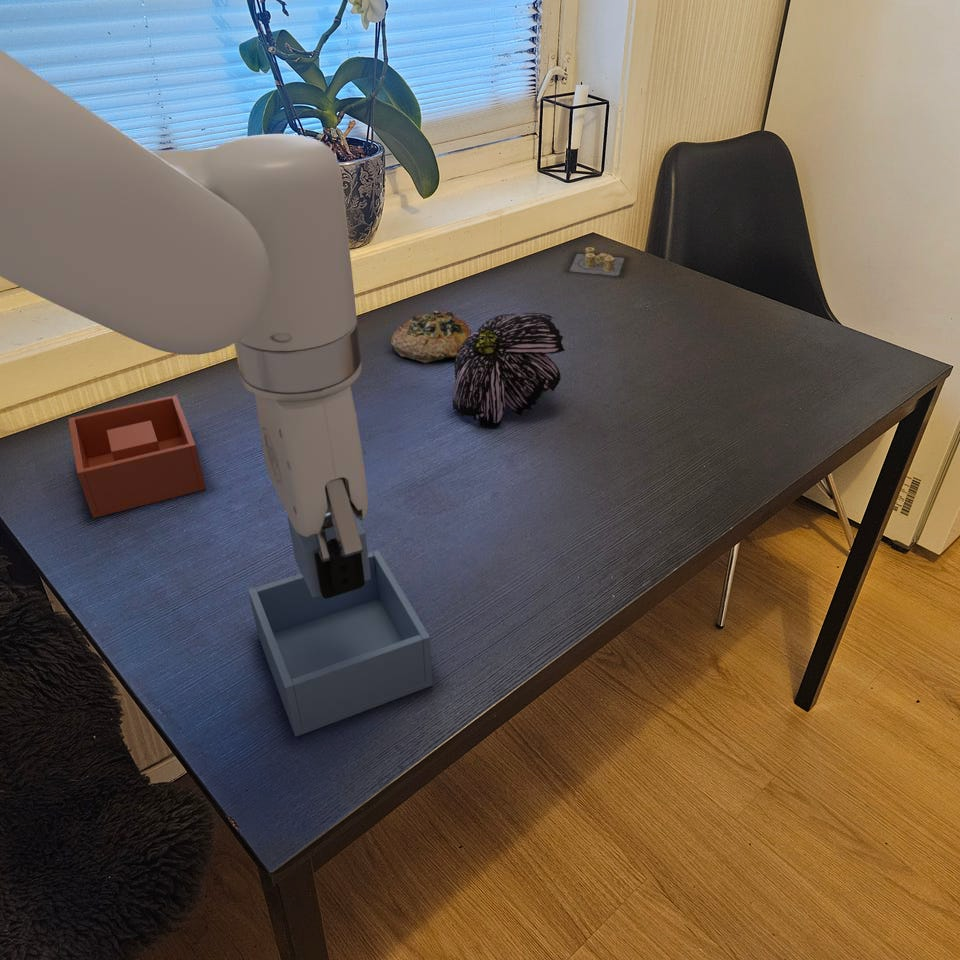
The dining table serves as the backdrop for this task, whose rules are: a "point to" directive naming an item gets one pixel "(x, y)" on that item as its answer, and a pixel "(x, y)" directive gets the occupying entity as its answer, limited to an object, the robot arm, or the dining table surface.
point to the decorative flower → (506, 366)
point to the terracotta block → (132, 440)
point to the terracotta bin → (140, 475)
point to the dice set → (597, 263)
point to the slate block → (308, 548)
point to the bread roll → (430, 337)
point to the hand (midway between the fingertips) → (331, 566)
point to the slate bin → (341, 646)
